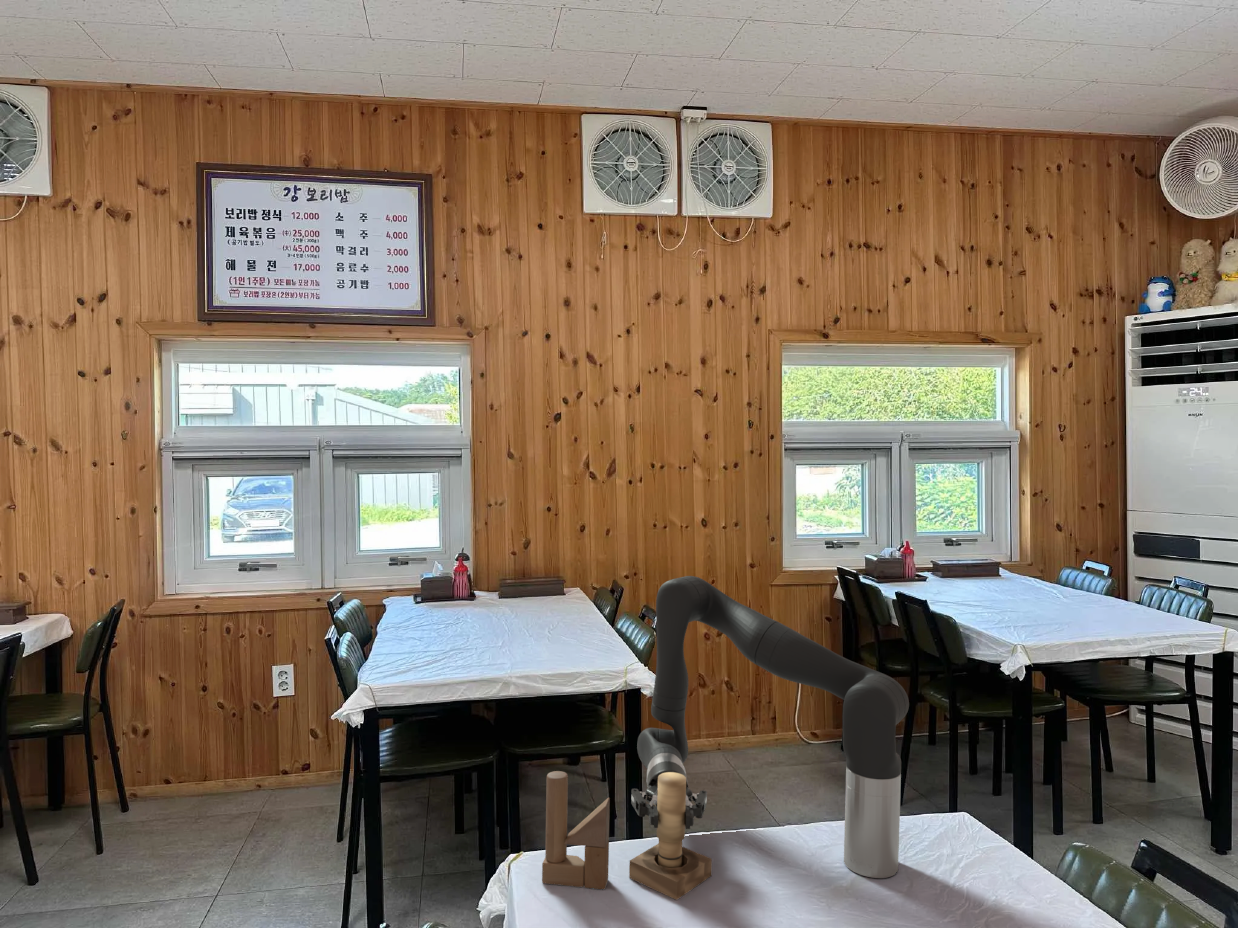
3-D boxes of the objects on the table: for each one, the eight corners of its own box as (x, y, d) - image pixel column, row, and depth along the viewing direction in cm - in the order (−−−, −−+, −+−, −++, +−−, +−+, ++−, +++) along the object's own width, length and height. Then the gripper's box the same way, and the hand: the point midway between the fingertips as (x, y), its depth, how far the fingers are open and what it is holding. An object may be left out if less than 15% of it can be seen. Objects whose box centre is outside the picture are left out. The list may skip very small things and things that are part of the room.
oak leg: (667, 859, 144) (669, 769, 143) (689, 869, 141) (691, 777, 140) (650, 870, 140) (652, 778, 140) (672, 880, 137) (675, 786, 136)
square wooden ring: (664, 855, 147) (665, 839, 147) (711, 875, 141) (711, 858, 141) (629, 877, 140) (629, 860, 140) (676, 899, 133) (677, 881, 133)
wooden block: (604, 890, 136) (606, 783, 135) (541, 884, 137) (543, 777, 137) (608, 879, 139) (610, 774, 139) (546, 872, 141) (548, 769, 140)
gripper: (629, 759, 154) (629, 799, 137) (705, 761, 154) (715, 801, 137) (628, 798, 155) (628, 843, 138) (704, 800, 154) (714, 845, 137)
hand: (672, 822), depth 137 cm, fingers closed on oak leg, 4 cm apart
